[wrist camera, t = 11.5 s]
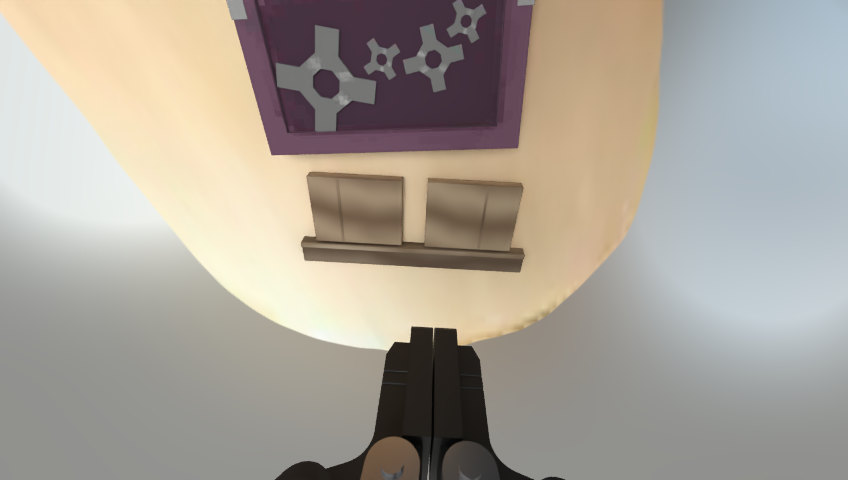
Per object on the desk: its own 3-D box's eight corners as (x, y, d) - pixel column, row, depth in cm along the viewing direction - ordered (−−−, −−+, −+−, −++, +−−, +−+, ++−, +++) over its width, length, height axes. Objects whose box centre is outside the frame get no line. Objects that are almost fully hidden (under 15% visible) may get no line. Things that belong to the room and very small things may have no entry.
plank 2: (428, 178, 41) (427, 182, 40) (521, 183, 41) (523, 188, 40) (424, 241, 46) (424, 246, 45) (507, 245, 46) (509, 251, 45)
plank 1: (309, 172, 41) (306, 176, 40) (402, 177, 41) (401, 181, 40) (319, 235, 46) (316, 240, 45) (402, 239, 46) (401, 245, 45)
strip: (304, 236, 47) (300, 242, 45) (522, 248, 47) (524, 255, 45) (307, 254, 48) (303, 261, 47) (518, 266, 48) (520, 273, 47)
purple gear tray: (527, -53, 30) (541, -65, 26) (510, 134, 39) (519, 148, 35) (243, -37, 32) (213, -45, 28) (287, 141, 40) (270, 155, 36)
